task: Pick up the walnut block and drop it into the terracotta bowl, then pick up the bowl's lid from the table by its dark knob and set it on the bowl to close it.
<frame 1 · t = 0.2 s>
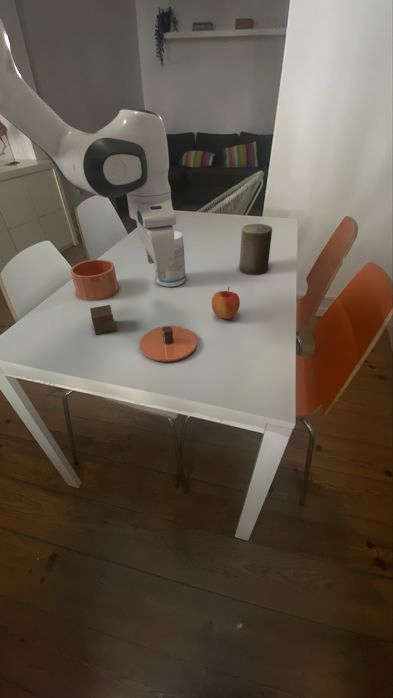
hand: (156, 270, 74), 15 cm above the table, tool pointing down, fingers open, 8 cm apart
block: (105, 327, 82), on the table
bowl: (97, 290, 98), on the table
supplement tub: (170, 281, 103), on the table
apple: (224, 317, 85), on the table
pillar candle: (253, 269, 109), on the table
bowl lid: (168, 343, 75), point 1 cm above the table
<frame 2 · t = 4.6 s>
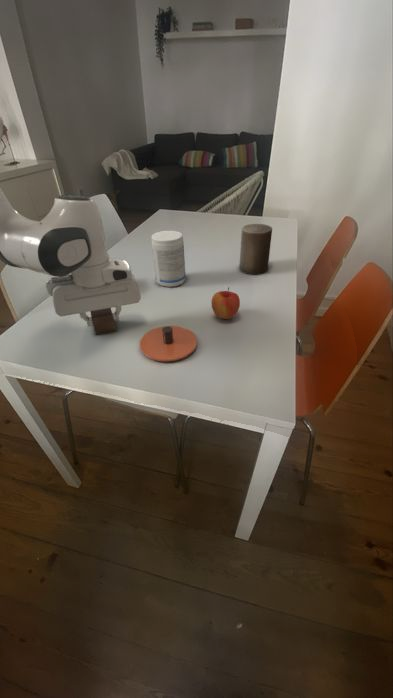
hand: (103, 322, 81), 2 cm above the table, tool pointing down, fingers closed on block, 5 cm apart
block: (104, 327, 82), on the table, touching gripper
everything else where it was.
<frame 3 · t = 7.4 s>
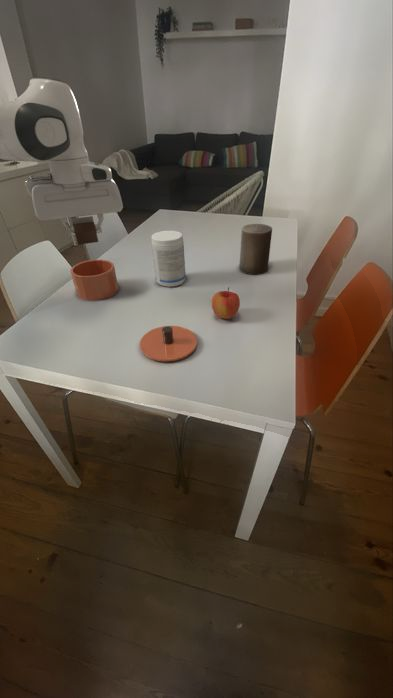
hand: (86, 233, 80), 20 cm above the table, tool pointing down, fingers closed on block, 5 cm apart
block: (87, 240, 81), point 18 cm above the table, touching gripper
everything else where it was.
when the fingers open (7 cm above the table, at t = 10.7 s): block drops 5 cm, resting on bowl.
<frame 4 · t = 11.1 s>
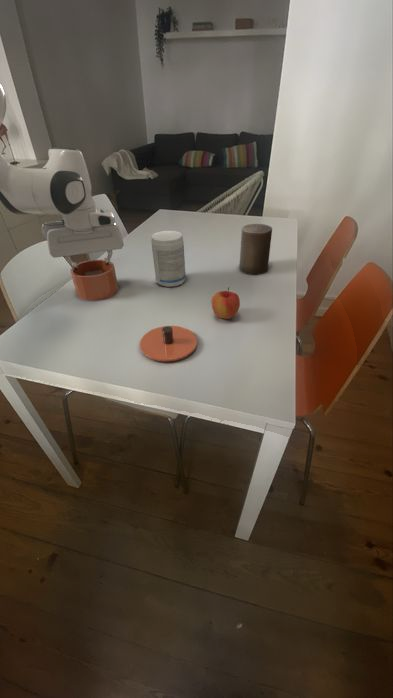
hand: (91, 266, 93), 8 cm above the table, tool pointing down, fingers open, 8 cm apart
block: (97, 289, 98), resting on bowl
everything else where it was.
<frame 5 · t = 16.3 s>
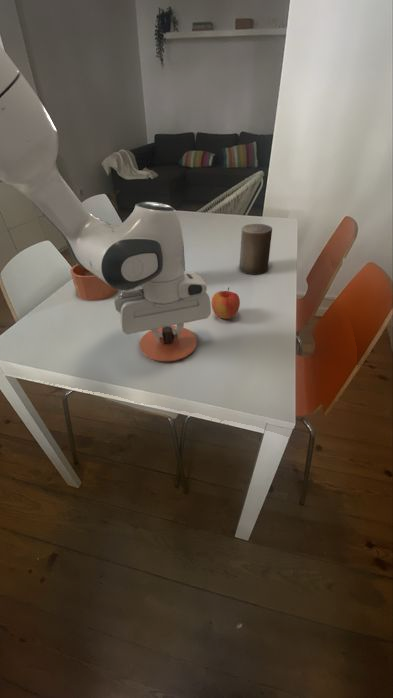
hand: (168, 339, 74), 2 cm above the table, tool pointing down, fingers closed on bowl lid, 2 cm apart
bowl lid: (168, 343, 75), point 1 cm above the table, touching gripper
everything else where it was.
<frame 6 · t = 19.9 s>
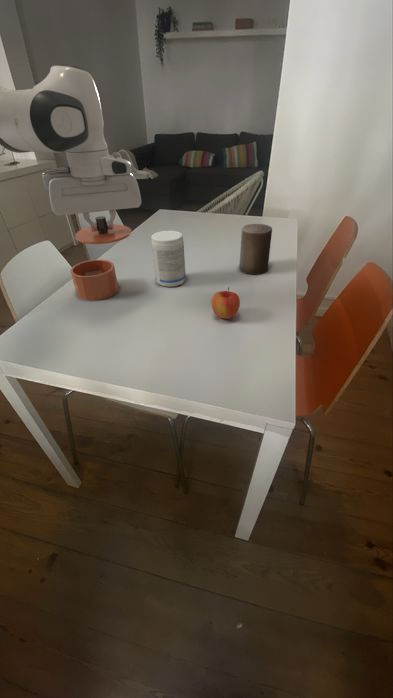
hand: (102, 229, 78), 21 cm above the table, tool pointing down, fingers closed on bowl lid, 2 cm apart
bowl lid: (103, 234, 78), point 20 cm above the table, touching gripper
everything else where it was.
when the fingers open (9 cm above the table, at t = 23.9 s): bowl lid stays where it is, resting on bowl.
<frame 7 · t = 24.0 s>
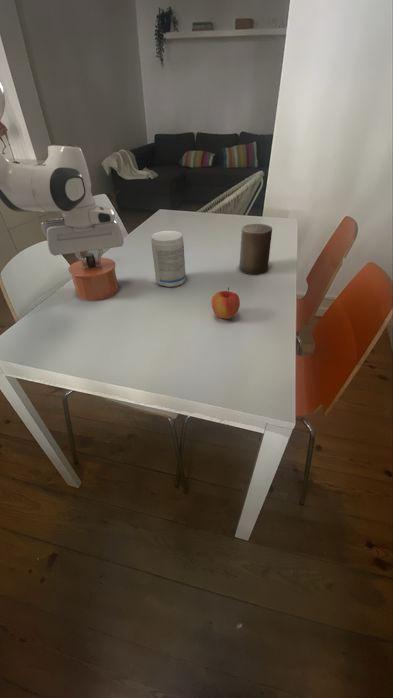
hand: (91, 264, 93), 8 cm above the table, tool pointing down
bowl lid: (92, 267, 94), point 7 cm above the table, touching bowl
everything else where it was.
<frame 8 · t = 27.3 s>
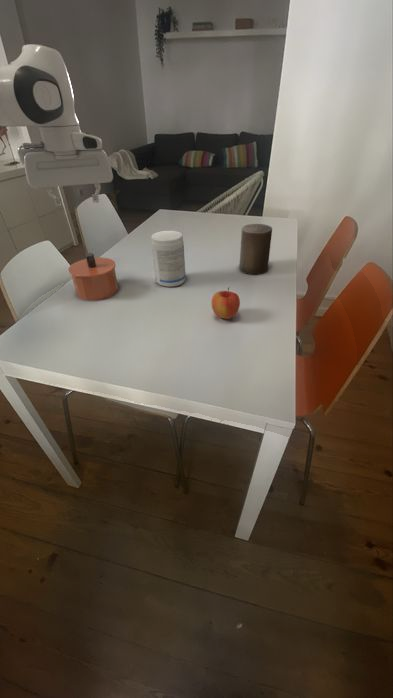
hand: (77, 204, 83), 25 cm above the table, tool pointing down, fingers open, 8 cm apart
nothing on the table moved.
at the end: block inside the target area in the bowl (0.0 cm from its centre), point 0.5 cm above the bowl's base; bowl lid 0.1 cm off-centre on the bowl, point 7.5 cm above the bowl's base; bowl lid tilted 0° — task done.
